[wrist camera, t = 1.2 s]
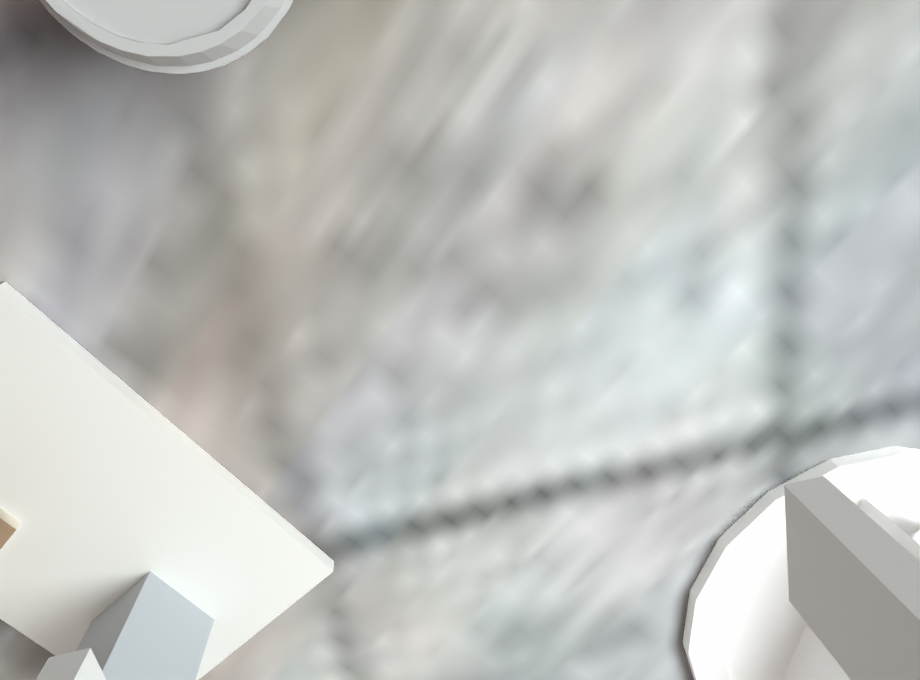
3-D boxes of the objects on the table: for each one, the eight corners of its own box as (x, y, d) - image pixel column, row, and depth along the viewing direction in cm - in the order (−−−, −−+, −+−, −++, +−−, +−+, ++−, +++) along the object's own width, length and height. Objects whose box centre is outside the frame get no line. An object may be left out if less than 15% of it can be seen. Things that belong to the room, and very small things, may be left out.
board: (-191, 471, 39) (-205, 481, 38) (5, 281, 36) (-5, 286, 35) (154, 706, 46) (149, 719, 45) (334, 561, 44) (332, 571, 43)
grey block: (92, 620, 42) (20, 752, 34) (150, 571, 42) (91, 693, 33) (157, 666, 44) (104, 803, 36) (214, 619, 43) (173, 748, 35)
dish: (1003, 696, 55) (1152, 842, 44) (689, 764, 54) (764, 931, 43) (1043, 412, 46) (1238, 510, 36) (670, 488, 45) (757, 611, 35)
